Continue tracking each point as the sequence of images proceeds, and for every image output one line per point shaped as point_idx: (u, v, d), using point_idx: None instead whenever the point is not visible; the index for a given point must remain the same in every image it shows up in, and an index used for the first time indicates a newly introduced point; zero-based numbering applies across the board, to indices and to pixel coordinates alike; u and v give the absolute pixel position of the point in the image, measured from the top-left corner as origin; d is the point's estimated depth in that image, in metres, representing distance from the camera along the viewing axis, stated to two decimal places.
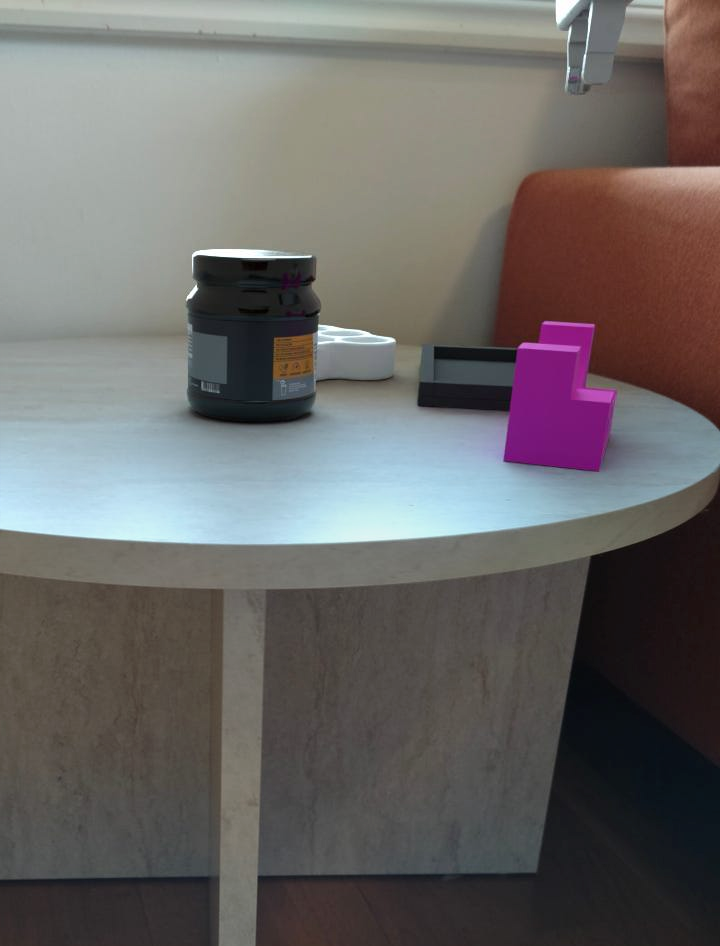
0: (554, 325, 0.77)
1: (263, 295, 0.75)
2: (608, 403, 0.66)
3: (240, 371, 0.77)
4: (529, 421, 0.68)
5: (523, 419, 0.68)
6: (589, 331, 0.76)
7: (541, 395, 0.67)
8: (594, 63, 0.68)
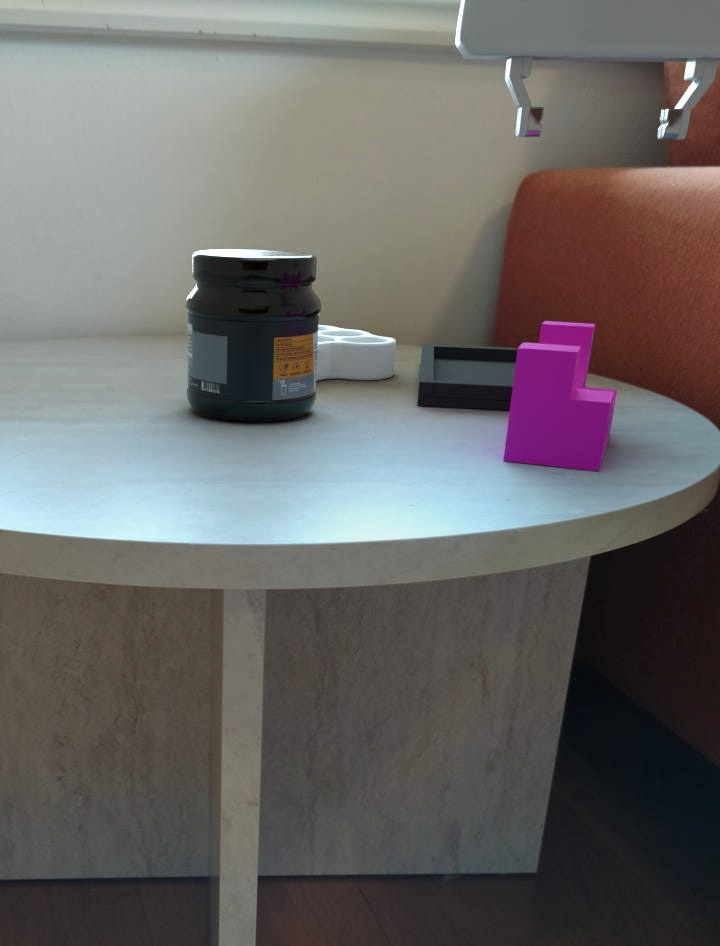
0: (554, 325, 0.77)
1: (263, 295, 0.75)
2: (608, 403, 0.66)
3: (240, 371, 0.77)
4: (529, 421, 0.68)
5: (523, 419, 0.68)
6: (589, 331, 0.76)
7: (541, 395, 0.67)
8: (518, 117, 0.69)
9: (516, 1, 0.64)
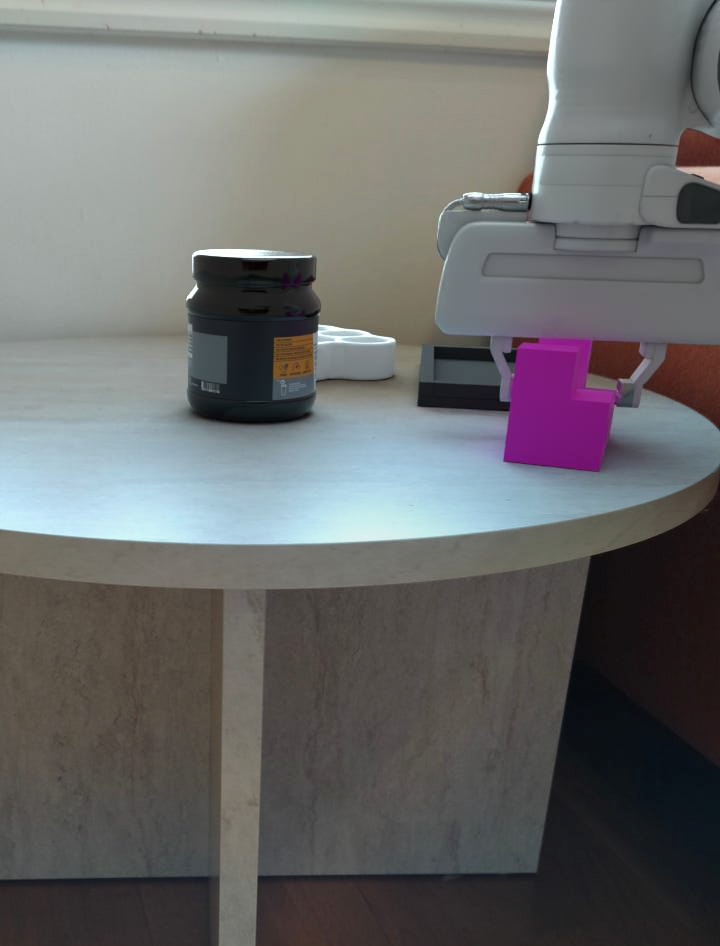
0: None
1: (263, 295, 0.75)
2: (608, 403, 0.66)
3: (240, 371, 0.77)
4: (529, 421, 0.68)
5: (522, 419, 0.68)
6: None
7: (540, 395, 0.67)
8: (501, 383, 0.74)
9: (487, 292, 0.70)
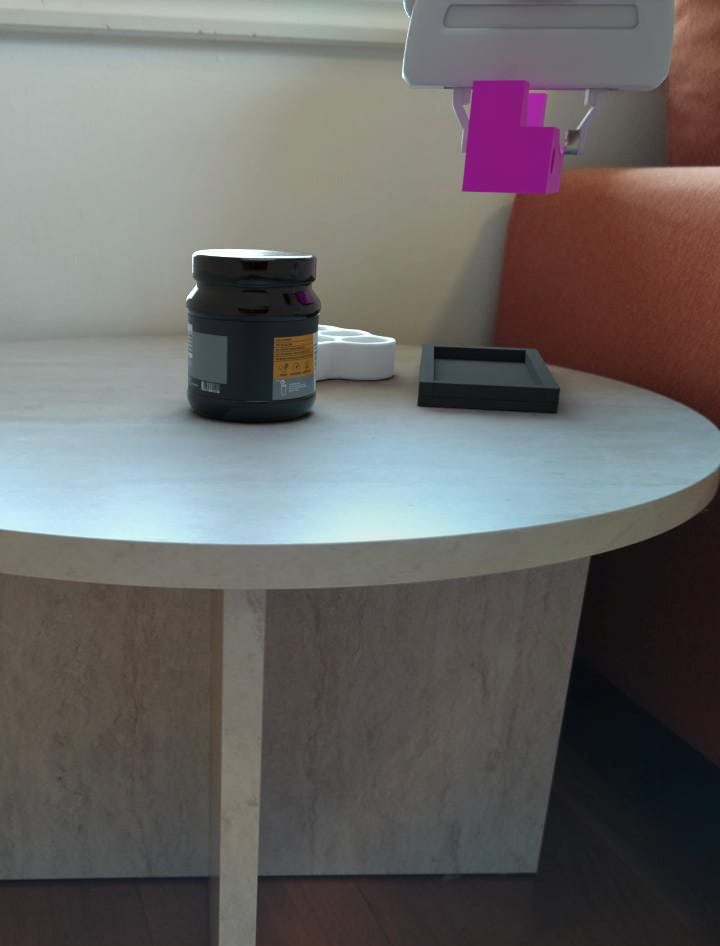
0: None
1: (263, 295, 0.75)
2: (552, 127, 0.74)
3: (240, 371, 0.77)
4: (484, 151, 0.77)
5: (478, 149, 0.77)
6: (541, 96, 0.85)
7: (494, 125, 0.76)
8: (462, 136, 0.83)
9: (448, 42, 0.79)
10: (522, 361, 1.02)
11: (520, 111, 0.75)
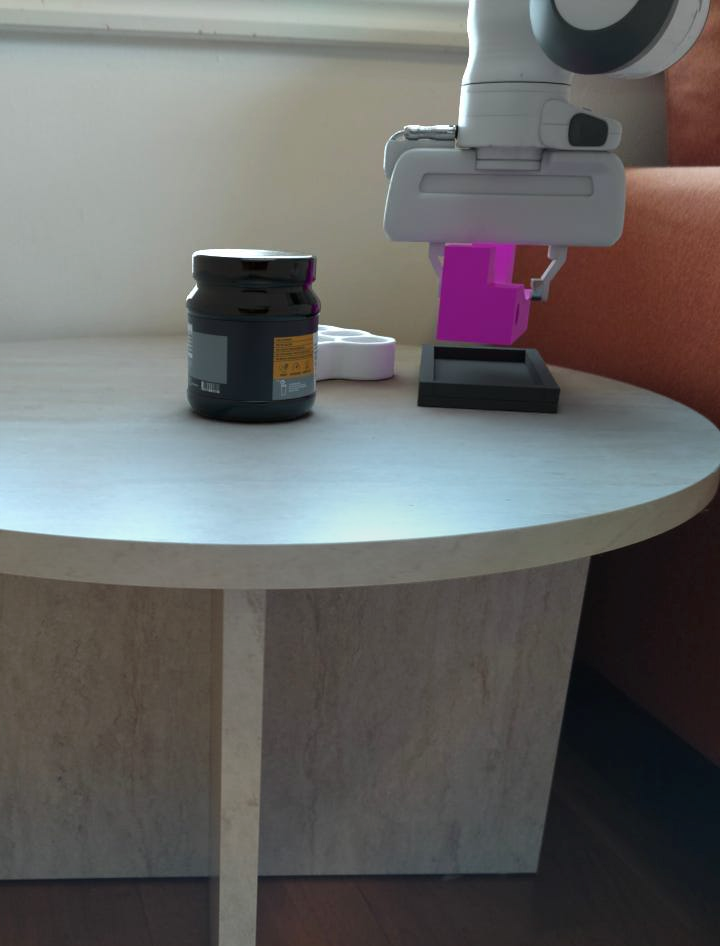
0: None
1: (263, 295, 0.75)
2: (515, 289, 0.83)
3: (240, 371, 0.77)
4: (455, 306, 0.85)
5: (450, 305, 0.85)
6: None
7: (463, 284, 0.84)
8: None
9: (423, 205, 0.87)
10: (522, 361, 1.02)
11: (487, 274, 0.83)
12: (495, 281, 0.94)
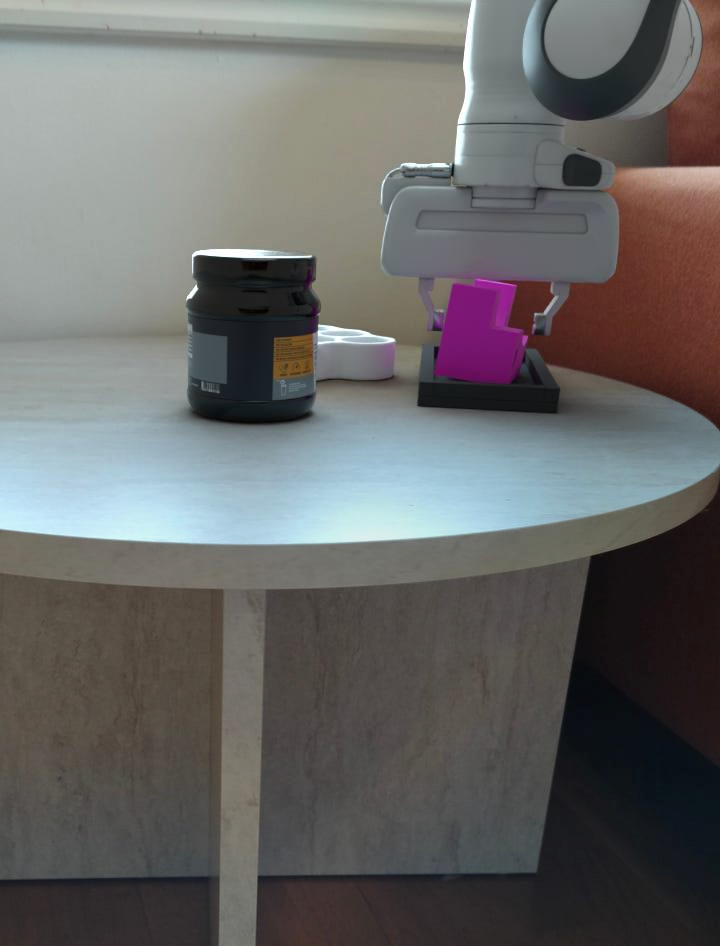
0: (485, 281, 0.96)
1: (263, 295, 0.75)
2: (517, 333, 0.85)
3: (240, 371, 0.77)
4: (456, 343, 0.87)
5: (451, 341, 0.87)
6: (511, 288, 0.96)
7: (467, 323, 0.86)
8: None
9: (420, 241, 0.89)
10: (522, 361, 1.02)
11: (490, 315, 0.85)
12: None
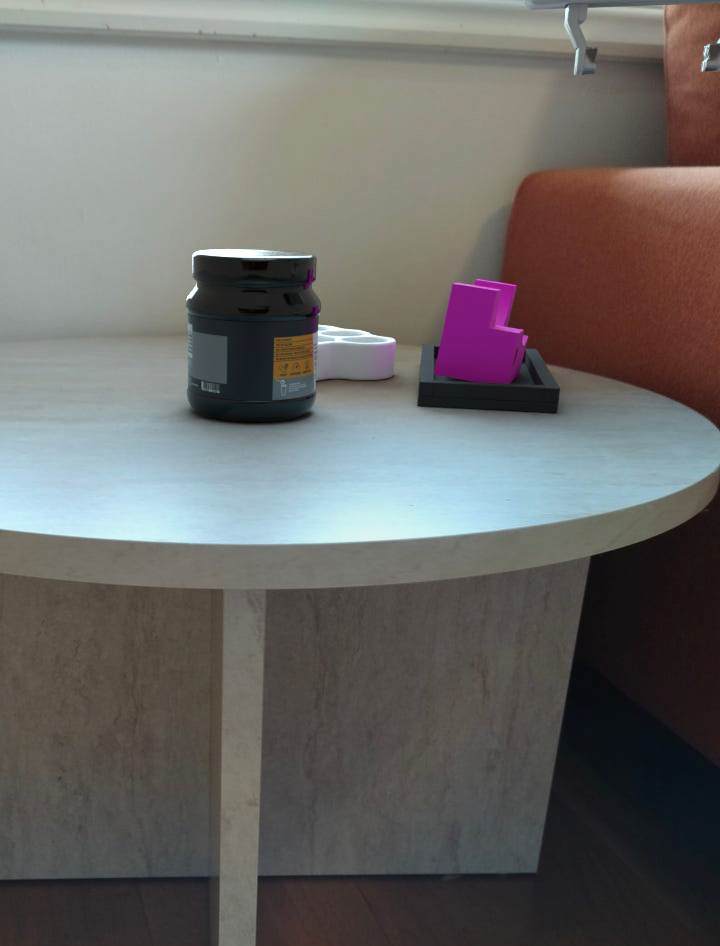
0: (484, 281, 0.96)
1: (263, 295, 0.75)
2: (517, 333, 0.85)
3: (240, 371, 0.77)
4: (456, 343, 0.87)
5: (451, 341, 0.87)
6: (511, 288, 0.96)
7: (467, 323, 0.86)
8: (576, 58, 0.79)
9: None
10: (522, 361, 1.02)
11: (490, 315, 0.85)
12: None
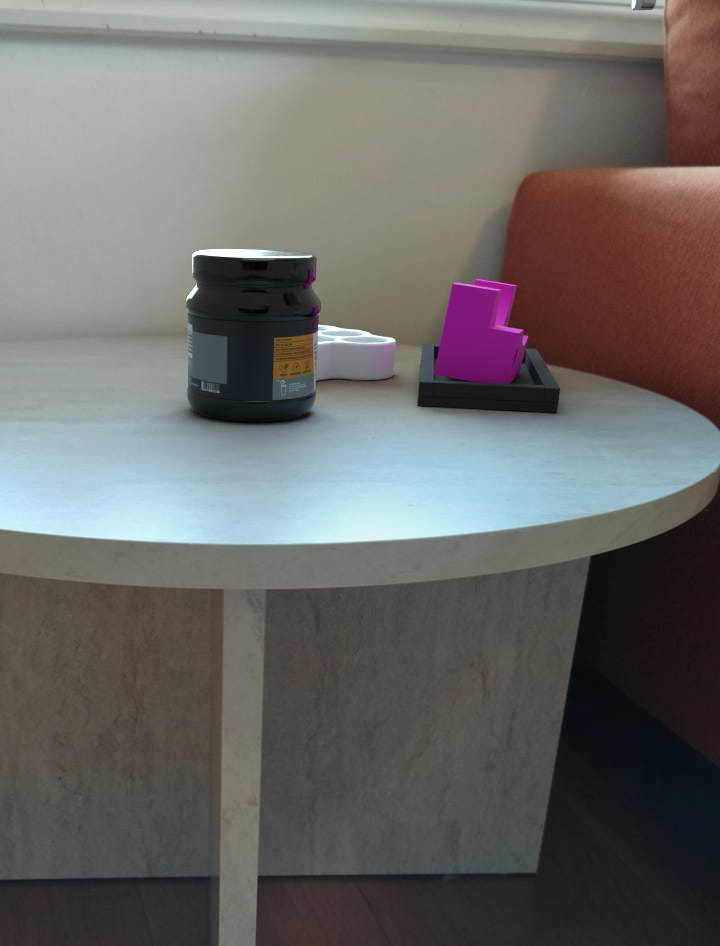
0: (484, 281, 0.96)
1: (263, 295, 0.75)
2: (517, 333, 0.85)
3: (240, 371, 0.77)
4: (456, 343, 0.87)
5: (451, 341, 0.87)
6: (511, 288, 0.96)
7: (467, 323, 0.86)
8: None
9: None
10: (522, 361, 1.02)
11: (490, 315, 0.85)
12: None
